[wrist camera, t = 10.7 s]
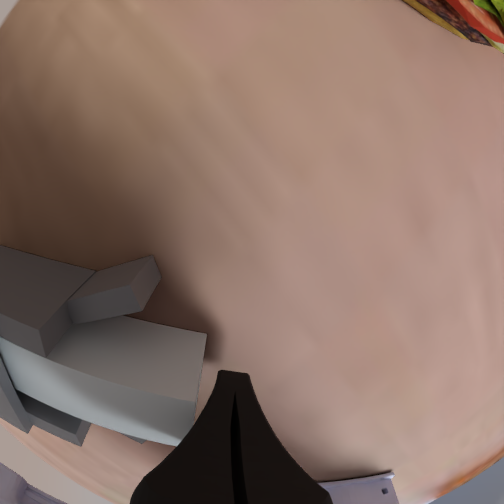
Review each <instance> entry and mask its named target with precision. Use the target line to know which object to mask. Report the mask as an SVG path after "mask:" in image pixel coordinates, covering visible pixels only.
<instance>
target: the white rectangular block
mask: <svg viewBox="0 0 504 504" xmlns="http://www.w3.org/2000/svg"><path fill="white" fill-rule="evenodd" d="M206 338H207V334H206V333H200V332H195V331H190V330H185V329H180V328H175V327H170V326H165V325H161V324H156V323H152V322H147V321H143V320H139V319H135V318H131V317H127V316H123V315H121V316H116V317H111V318H106V319H101V320H96V321H91V322H86V323H81V324H76V325H74V323H73V324H72V325H71V327H70V328H69V329H68V330H67V332H66V333H65V334H64V335H63V337H62V338H61V339H60V341H59V342H58V343H57V344H56V346H55V347H54V348H53V350H52V351H51V352H50V354H49V355H48V356H47V358H45V357H43V356H41V355H38V354H36V353H34V352H32V351H29V350H27V349H25V348H23V347H21V346H19V345H17V344H14V343H12V342H10V341H8V340H6V339H4V338H3V337H1V336H0V354H1V356H2V359H3V362H4V364H5V366H6V369H7V371H8V374H9V376H10V378H11V380H12V383H13V385H14V387H15V389H17V390H19V391H21V392H23V393H25V394H26V395H28V396H30V397H32V398H34V399H36V400H38V401H40V402H43V403H45V404H47V405H49V406H51V407H53V408H56V409H58V410H60V411H62V412H65V413H67V414H70V415H72V416H75V417H77V418H80V419H82V420H85V421H88V422H90V423H93V424H96V425H99V426H102V427H105V428H108V429H111V430H114V431H117V432H120V433H124V434H127V435H131V436H134V437H138V438H142V439H146V440H150V441H154V442H158V443H162V444H167V445H172V446H178V444H179V443H180V442H181V441H182V440H183V438H184V437H185V436H186V435H187V433H188V432H189V431H190V429H191V428H192V427H193V424H194V417H195V411H196V404H197V398H198V392H199V385H200V378H201V371H202V364H203V358H204V351H205V344H206Z"/></svg>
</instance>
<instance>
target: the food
mask: <svg viewBox="0 0 504 504" xmlns="http://www.w3.org/2000/svg"><path fill="white" fill-rule="evenodd" d="M403 1H405V2H406V3H408V4H409V5H410V6H412V7H413V8H415V9H416V10H417V11H419V12H420V13H422V14H423V15H424V16H425V17H427V18H428V19H429V20H431V21H432V22H434V23H436V24H438V25H440V26H442V27H443V28H445V29H447V30H449V31H450V32H452V33H454V34H456V35H457V36H459V37H460V38H463V39H467V40H470V41H471V42H475V43H480V44H484V45H488V46H492V47H494V48H496V49H497V50H499V51H500V52H502V53H503V54H504V0H403Z"/></svg>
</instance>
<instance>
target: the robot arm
mask: <svg viewBox="0 0 504 504" xmlns="http://www.w3.org/2000/svg"><path fill="white" fill-rule="evenodd" d="M394 476H395V474H394V472H391V473H386V474H381V475H376V476H371V477H365V478H358V479H351V480H344V481H335V482H324V483H317V482H316V481H314V480H313V479H312V478H311V477H310V476H309V475H308V474H307V473H306V472H305V471H304V470H303V469H302V468H301V467H300V466H299V465H298V464H297V462H296V461H295V460H294V459H293V458H292V457H291V456H290V454H289V453H288V452H287V451H286V449H285V448H284V447H283V445H282V444H281V442H280V441H279V439H278V438H277V436H276V435H275V433H274V432H273V430H272V428H271V426H270V425H269V423H268V421H267V419H266V417H265V415H264V413H263V411H262V409H261V407H260V405H259V402H258V400H257V397H256V395H255V392H254V389H253V386H252V383H251V380H250V376H249V375H248V373H241V372H233V371H227V370H220V371H218V375H217V380H216V384H215V386H214V389H213V391H212V394H211V396H210V398H209V400H208V402H207V404H206V406H205V407H204V409H203V411H202V413H201V414H200V416H199V418H198V419H197V421H196V422H195V424H194V425H193V427H192V428H191V429H190V431H189V432H188V433H187V435H186V436H185V437H184V438H183V440H182V441H181V442H180V443H179V444H178V446H177V447H176V448H175V449H174V450H173V451H172V452H171V453H170V454H169V455H168V456H167V457H166V458H165V459H164V460H163V461H162V462H161V463H160V464H159V465H158V466H157V467H155V468H154V469H153V470H152V471H151V472H149V473H148V474H147V475H146V476H144V477H143V479H142V480H141V482H140V483H139V485H138V486H137V487H136V489H135V491H134V492H133V494H132V497H131V500H130V504H399V502H398V499H397V496H396V493H395V490H394V487H393V484H392V481H391V478H393V477H394ZM0 504H67V503H65V502H62V501H60V500H58V499H56V498H54V497H52V496H50V495H48V494H46V493H44V492H43V491H41V490H39V489H37V488H35V487H33V486H32V485H30V484H28V483H27V482H26V480H25V479H23V478H22V477H21V476H20V475H18V474H17V473H16V472H14V471H13V470H11V469H9V468H8V467H6V466H5V465H3V464H2V463H0Z"/></svg>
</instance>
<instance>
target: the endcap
mask: <svg viewBox="0 0 504 504" xmlns="http://www.w3.org/2000/svg"><path fill="white" fill-rule="evenodd" d="M161 278H162V277H161V275H160V272H159V270H158V267H157V265H156V262H155V260H154V257H153V255H151V256H148V257H144V258H141V259H137V260H134V261H130V262H127V263H124V264H120V265H117V266H114V267H110V268H107V269H104V270H100V271H97V272H96V271H95V270H90V269H86V268H82V267H78V266H74V265H70V264H66V263H62V262H59V261H55V260H51V259H47V258H44V257H40V256H36V255H33V254H29V253H26V252H22V251H19V250H15V249H12V248H8V247H5V246H2V245H0V336H1V337H3V338H4V339H6V340H8V341H10V342H12V343H14V344H17V345H19V346H21V347H23V348H25V349H27V350H29V351H32V352H34V353H36V354H38V355H41V356H43V357H45V358H47V356H48V355H49V354H50V352H51V351H52V350H53V348H54V347H55V346H56V344H57V343H58V342H59V341H60V339H61V338H62V337H63V335H64V334H65V333H66V332H67V330H68V329H69V328H70V327H71V325H72V324H73V323H74V325H76V324H81V323H86V322H91V321H96V320H101V319H106V318H111V317H116V316H121V315H126V314H131V313H136V312H140V311H143V309H144V307H145V305H146V304H147V302H148V300H149V298H150V297H151V295H152V293H153V291H154V290H155V288H156V286H157V284H158V283H159V281H160V279H161ZM0 417H1V418H2V419H4V420H5V421H7V422H8V423H10V424H12V425H13V426H15V427H17V428H19V429H20V430H22V431H24V432H26V433H27V434H28V433H29V431H30V429H31V427H32V426H33V425H35V426H37V427H39V428H41V429H43V430H45V431H47V432H49V433H51V434H53V435H55V436H57V437H60V438H62V439H64V440H66V441H69V442H71V443H73V444H76V445H78V446H82V444H83V442H84V439H85V437H86V434H87V432H88V430H89V427H90V425H91V423H90V422H88V421H85V420H82V419H80V418H77V417H75V416H72V415H70V414H67V413H65V412H62V411H60V410H58V409H56V408H53V407H51V406H49V405H47V404H45V403H43V402H40V401H38V400H36V399H34V398H32V397H30V396H28V395H26V394H25V393H23V392H21V391H19V390H17V389H15V387H14V385H13V383H12V380H11V378H10V376H9V374H8V371H7V369H6V366H5V364H4V362H3V359H2V356H1V354H0ZM119 433H120V432H119ZM121 434H123V435H125V436H127V437H129V438H131V439H133V440H135V441H137V442H139V443H141V444H142V443H144V442H145V441H146V439H142V438H138V437H134V436H131V435H127V434H124V433H121Z"/></svg>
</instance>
